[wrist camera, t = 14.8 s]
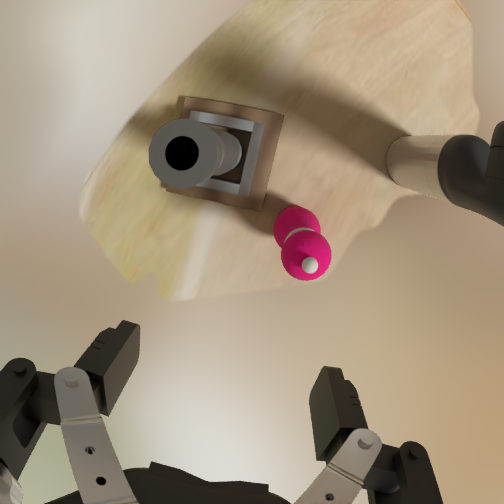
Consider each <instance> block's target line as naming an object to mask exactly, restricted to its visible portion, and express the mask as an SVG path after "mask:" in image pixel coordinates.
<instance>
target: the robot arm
mask: <svg viewBox="0 0 504 504" xmlns="http://www.w3.org/2000/svg"><path fill="white" fill-rule="evenodd" d="M386 164H387V169H388V172H389V174H390V176H391V178H392V179H393V180H394V181H395V182H396V183H397V184H398V185H400V186H402V187H405V188H408V189H411V190H413V191H416V192H419V193H422V194H425V195H428V196H431V197H434V198H437V199H440V200H443V201H446V202H449V203H451V204H454V205H457V206H459V207H462V208H465V209H468V210H471V211H474V212H476V213H479V214H481V215H484V216H485V217H487V218H489V219H491V220H493V221H495V222H497V223H498V224H500V225H502V226H504V121H502V122H500V123H498V124H497V125H496V127H495V130H494V132H493V136H492V140H491V145H490V146H489V144H488V143H487V142H486V141H484V140H483V139H481V138H479V137H477V136H474V135H427V136H406V137H401V138H399V139H397V140H395V141H394V142H393V143H392V144H391V146H390V148H389V150H388V153H387V158H386ZM139 347H140V325H138V324H135V323H132V322H129V321H125V320H123V321H121V323H120V324H119V325H118V327H117V328H116V329H113V328H108V329H106V330H104V331H102V332H100V333H99V335H98V336H97V337H96V338H95V341H93V342H92V343H91V345H90V347H88V348H87V350H86V351H85V352H84V354H83V355H82V356H81V357H80V359H79V360H78V361H77V362H76V364H75V365H74V366H73V367H66V368H63V369H61V370H59V371H58V372H57V373H56V374H51V373H45V372H40V371H36V367H35V365H34V363H33V362H32V361H30V360H28V359H25V358H16V359H13V360H11V361H9V362H8V363H7V364H6V366H5V367H4V368H3V369H2V370H1V371H0V504H22V499H23V491H22V488H21V486H20V484H19V483H18V482H17V481H18V479H19V477H20V475H21V472H22V470H23V468H24V466H25V464H26V463H27V460H28V459H29V457H30V455H31V453H32V451H33V449H34V447H35V445H36V443H37V441H38V440H39V438H40V436H41V434H42V432H43V431H44V428H45V427H46V425H47V423H50V424H56V425H61V429H62V433H63V438H64V442H65V445H66V449H67V453H68V457H69V461H70V464H71V467H72V471H73V474H74V477H75V480H76V483H77V486H78V489H79V490H77V491H75V492H73V493H71V494H68V495H65V496H63V497H60V498H58V499H56V500H53V501H50V502H48V503H45V504H291V503H290V502H288V501H287V500H285V499H283V498H282V497H280V496H278V495H276V494H274V493H271V492H268V488H269V486H268V484H260V483H251V482H244V481H229V482H208V481H205V480H203V479H200V478H198V477H196V476H193V475H191V474H189V473H187V472H185V471H183V470H181V469H177V468H174V467H170V466H166V465H162V464H159V463H155V462H151V464H150V467H149V468H130V469H126V470H122V468H121V466H120V463H119V461H118V459H117V456H116V454H115V451H114V449H113V446H112V443H111V441H110V438H109V436H108V433H107V430H106V427H105V424H104V421H103V419H102V417H100V414H103V415H106V416H109V415H110V413H111V410H112V409H113V407H114V405H115V403H116V401H117V399H118V397H119V396H120V394H121V392H122V390H123V388H124V386H125V384H126V383H127V381H128V379H129V377H130V375H131V374H132V372H133V370H134V368H135V366H136V364H137V362H138V358H139V349H140V348H139ZM358 398H359V397H358V393H357V390H356V388H355V387H354V385H353V384H352V383H351V382H350V381H349V380H344V376H343V373H342V370H341V368H335V367H328V366H324V367H323V368H322V369H321V372H320V373H319V376H318V378H317V380H316V382H315V384H314V386H313V388H312V390H311V393H310V398H309V405H310V412H311V420H312V428H313V435H314V443H315V451H316V460H317V461H326V467H325V468H324V469H323V471H322V472H321V473H320V474H319V476H318V477H317V478H316V479H315V480H314V481H313V483H312V484H311V485H310V486H309V487H308V488H307V490H306V491H305V492H304V493H303V494H302V495H301V497H299V498H298V500H297V501H296V502H295V503H294V504H351V503H352V502H353V501H354V499H355V497H356V496H357V494H358V493H359V491H360V490H361V488H363V489H367V493H368V500H369V504H443V501H442V498H441V495H440V491H439V488H438V484H437V481H436V478H435V475H434V472H433V468H432V465H431V463H430V459H429V457H428V454H427V451H426V449H425V448H424V447H423V446H422V445H420V444H419V443H417V442H413V441H408V442H405V443H403V444H402V445H401V447H400V448H397V447H393V446H389V445H385V444H382V442H381V439H380V438H379V436H378V435H377V434H376V433H374V432H373V431H371V430H369V429H368V426H367V422H366V419H365V416H364V413H363V409H362V406H361V403H360V400H359V399H358Z"/></svg>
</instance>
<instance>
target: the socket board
mask: <svg viewBox="0 0 504 504" xmlns="http://www.w3.org/2000/svg"><path fill="white" fill-rule="evenodd" d="M186 118H188V119H191V120H195V121H198V122H201V123H203V124H205V125H208V126H209V127H210V128H211V129H220V130H222V131H225V132H228V133H229V134H232V135H234V136H236V137H237V138H238V139H239V140H240V141H241V144H242V146H243V154H244V155H243V158H242V160H241V163H240V164H239V165H238V166H237V167H236V168H234V169H232V170H230V171H228V172H226V173H223V174H221V175H214V176H211V177H210V178H209V179H207V180H205V181H203V182H201V183H199V184H197V185H195V186H193V187H191V188H174V187H172V186H169V185H167V189H166V191H168V192H173V193H178V194H182V195H187V196H192V197H197V198H201V199H206V200H211V201H215V202H220V203H224V204H229V205H233V206H238V207H242V208H247V209H251V210H255V211H260V212H261V210H262V205H263V201H264V197H265V193H266V189H267V185H268V181H269V176H270V172H271V168H272V164H273V160H274V156H275V151H276V147H277V143H278V139H279V135H280V131H281V127H282V122H283V118H284V115H281V114H277V113H273V112H268V111H264V110H259V109H254V108H250V107H245V106H240V105H234V104H229V103H223V102H217V101H211V100H205V99H198V98H191V97H185V101H184V105H183V109H182V114H181V118H180V119H186Z"/></svg>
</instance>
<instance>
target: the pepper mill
mask: <svg viewBox="0 0 504 504" xmlns="http://www.w3.org/2000/svg"><path fill="white" fill-rule="evenodd" d="M320 231H321V230H320V225H319V222H318V220H317V218H316V216H315V215H314V214H313V213H312V212H310V211H309V210H307V209H304V208H302V207H299V206H291V207H288V208H286V209H284V210H283V211H282V212H281V213H280V214H279V215H278V218H277V220H276V222H275V225H274V237H275V239H276V242H277V243H278V245H279V246H280V247H281V248H282V251H281V260H282V263H283V266H284V268H285V269H286V271H287V272H288V273H289V274H290V275H291V276H293V277H294V278H297V279H299V280H306V281H308V280H313V279H316V278H318V277H320V276H321V275H323V274H324V273H325V271H326V270H327V269H328V267H329V265H330V262H331V249H330V246H329V244H328V242H327V240H326V239H325V238H324V237H323V236H322V235H321V234H320Z"/></svg>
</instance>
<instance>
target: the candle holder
mask: <svg viewBox="0 0 504 504" xmlns="http://www.w3.org/2000/svg"><path fill="white" fill-rule="evenodd" d="M243 155H244V154H243V146H242V144H241V141H240V140H239V139H238V138H237V137H236V136H234V135H232V134H229V133H228V132H225V131H222V130H220V129H211V128H210V127H209V126H208V125H205V124H203V123H201V122H198V121H195V120H191V119H188V118H186V119H175V120H172V121H171V122H169V123H167V124H165V125H163V126H162V127H161V128H160V129H159V130H158V131H157V133H156V134H155V135H154V136H153V138H152V141H151V144H150V147H149V163H150V165H151V168H152V170H153V172H154V174H155V176H156V177H158V178H159V179H160V180H161V181H162V182H163V183H164V184H166V185H169V186H172V187H174V188H191V187H193V186H195V185H197V184H199V183H201V182H203V181H205V180H207V179H209V178H210V177H211V176H214V175H221V174H223V173H226V172H228V171H230V170H232V169H234V168H236V167H237V166H238V165H239V164H240V163H241V160H242V158H243Z"/></svg>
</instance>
